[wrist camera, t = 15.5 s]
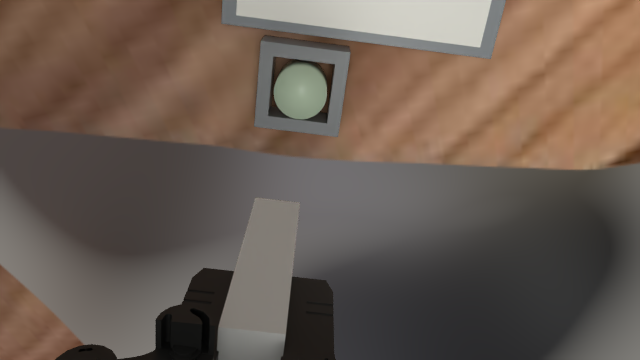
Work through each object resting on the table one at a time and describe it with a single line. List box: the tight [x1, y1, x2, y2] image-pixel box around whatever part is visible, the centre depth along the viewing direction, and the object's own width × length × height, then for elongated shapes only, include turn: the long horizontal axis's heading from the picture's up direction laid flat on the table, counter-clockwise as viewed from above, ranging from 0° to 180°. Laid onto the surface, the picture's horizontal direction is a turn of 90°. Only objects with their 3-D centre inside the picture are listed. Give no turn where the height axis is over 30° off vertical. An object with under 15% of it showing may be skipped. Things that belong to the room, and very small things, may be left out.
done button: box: [274, 59, 327, 119], centre depth 37 cm, size 4×4×3 cm
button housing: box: [254, 35, 350, 137], centre depth 37 cm, size 6×6×2 cm
